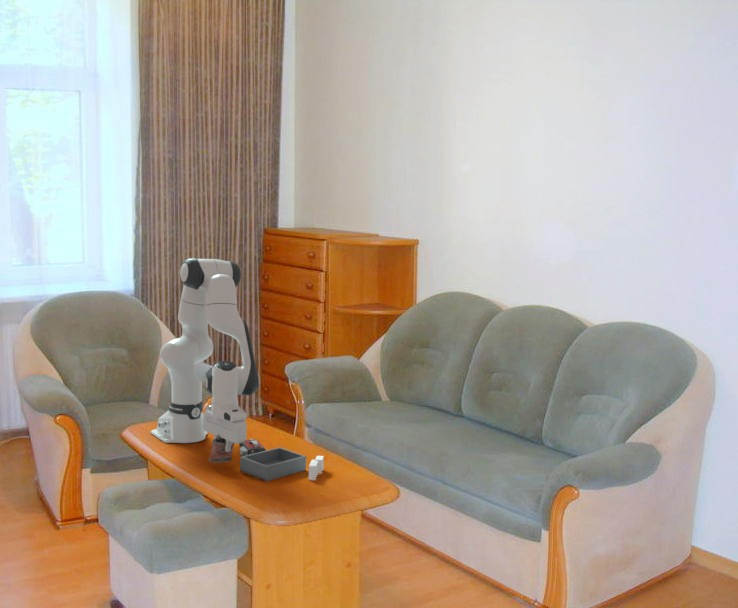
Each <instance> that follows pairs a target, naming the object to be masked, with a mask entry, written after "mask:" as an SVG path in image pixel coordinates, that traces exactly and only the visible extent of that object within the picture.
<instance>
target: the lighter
mask: <svg viewBox="0 0 738 608" xmlns="http://www.w3.org/2000/svg"><path fill="white" fill-rule="evenodd" d="M211 443H212V444H211V450H210V455H209V457H208V461H209V462H210V463H215V464H217V463H219V464H220V463H227V462H231V461H232V460H233V459H232V456H233V452H234V451H233V450H234V446H235V443H233V444H232V445H231V451H230V452H225V451H224V446H226V444H227V443H226V439H223V438H221V437H220V436H219V435H217V439H214V438H213V439H212V442H211Z"/></svg>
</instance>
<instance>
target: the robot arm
mask: <svg viewBox="0 0 738 608" xmlns="http://www.w3.org/2000/svg"><path fill="white" fill-rule="evenodd" d="M241 272H242V271H241V269H240V266H239V264H238V263H236V262H234V261H231V260H223V259H218V258H196V257H191V258H187V259H185V260H183V262H182V263H181V266H180V269H179V279H180V281H181V283H182V285H183V288H182V292H181V296H180V301H179V307H178V313H177V320H178V322H179V323H180V324H181V330H182V331H181V332H182V333H181V336H180V337H176V338H172V339H171V340H169V341H167V342H166V343H164V345H162V346H161V348H160V350H159V358H160V361H161V363H162V364H163V366H165V367H166V368H167V371H168V373H169V376H170V382H171V401H167V406H168V410H167V411H166V412H164V414H162V415H161V416H159V418H158V419H157V428H154V429H152V430H150V434H151V435H153V436H154V437H156V438H157V439H158V440H160V441H162V442H163V443H166V444H168V443H169V444H171V443H175V444H176V443H177V444H191V443H198V442H201V441H204V440H205V439H206V436H207V435H208V433H209V434H211V435H213V439H217V435H219V436H220V437H221V438H223V439H226V443H227V444H226V446H224V451H225V452H230V451H231V445H232V444H233V443H234V444H236V445H239V444H240V443H244V442H245V440H247V435H248V434H247V431H248V425H247V422H246V420H247V419H248V413H247V412H246V411H245V410H244V409H242V407H241V406H240V405H239V399H238V395H240V396H251V395H253V394H254V393H256V392H257V391H259V388H260V381H261V380H260V375H259V372H258V368H257V365H256V359H255V354H254V349H253V344H252V339H251V334H250V329H249V327H248V324H247V322H246V320H243V319H242V317H241V315H240V314H239V311H238V296H237V289H236V288H237V287H238V286H239V284H240V282H241V278H242V277H241V276H242V273H241ZM209 327H211V328H212V329H214V330H215V331H216V332H219V333H222V334H224V335H227V336H230V337H232V338H233V339H235V340H236V342H237V343H238V345H239V350H240V355H241V360H242V365H241V366H237V364H236V363H235V362H233V361H230V360H229V361H228V360H220V361H218V362H216V363H215V364H214V366H213V367H211V368H209V369H208V370H207V371H206V372H205V386H204V389H205V390H206V391H207V392H208V393H209V394H211V395H212V398H211V404H208V405H207V406H206V407H205V409H204V404H203V403H204V402H203V398H202V395H203V391H202V390H203V382H202V379H201V378H200V377H199V376H198V375H197V371H196V366H195V365H197V364H199V363H202V362H204V361H205V360H206V359H208V358H209V357H210V356H212V354H213V353H214V352H213V351H214V343H213V340H212V339H211V337H210V333H209ZM203 410H205V411H204V412H203Z"/></svg>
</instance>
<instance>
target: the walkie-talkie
mask: <svg viewBox="0 0 738 608" xmlns="http://www.w3.org/2000/svg"><path fill="white" fill-rule="evenodd" d="M238 446H239V447H240V448H239V454H240V455H242V456H246V455H250V454H254V453H258V452H262V451H267V450H266V448H265V446H264V445H263V444H262V443H261V442H260V441H259V440H257V439H256V438H251V439H246V440H245V442H244V443H240V444H238ZM242 456H241V457H242Z"/></svg>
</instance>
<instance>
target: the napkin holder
mask: <svg viewBox="0 0 738 608" xmlns="http://www.w3.org/2000/svg"><path fill="white" fill-rule="evenodd" d="M324 457H325V456H324V455H316V457H315V459H311V461H310V463H309V465H308V479H310V480H309V481H316V480H317V478H318V476H317V475H319V474H318V473H322V474H323V472H322V471H324V460H325V458H324ZM316 477H317V478H316Z"/></svg>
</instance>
